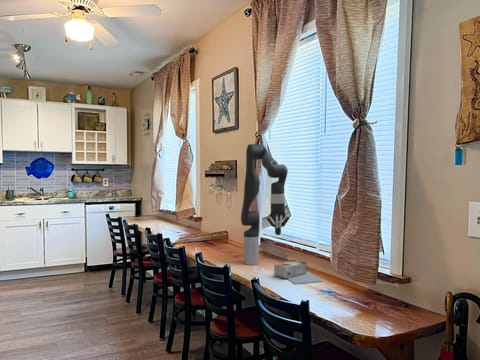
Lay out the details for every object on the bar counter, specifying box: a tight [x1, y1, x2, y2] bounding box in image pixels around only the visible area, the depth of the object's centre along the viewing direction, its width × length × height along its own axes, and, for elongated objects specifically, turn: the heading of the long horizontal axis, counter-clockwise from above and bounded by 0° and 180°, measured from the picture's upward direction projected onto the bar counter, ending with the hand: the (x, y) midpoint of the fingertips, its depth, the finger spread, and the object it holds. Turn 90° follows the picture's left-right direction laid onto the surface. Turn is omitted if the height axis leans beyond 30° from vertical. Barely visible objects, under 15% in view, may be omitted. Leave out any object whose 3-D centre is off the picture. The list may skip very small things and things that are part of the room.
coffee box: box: [273, 259, 307, 279], centre depth 202 cm, size 9×6×16 cm
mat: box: [286, 271, 324, 285], centre depth 197 cm, size 18×16×1 cm
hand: (277, 234), depth 193 cm, fingers closed
